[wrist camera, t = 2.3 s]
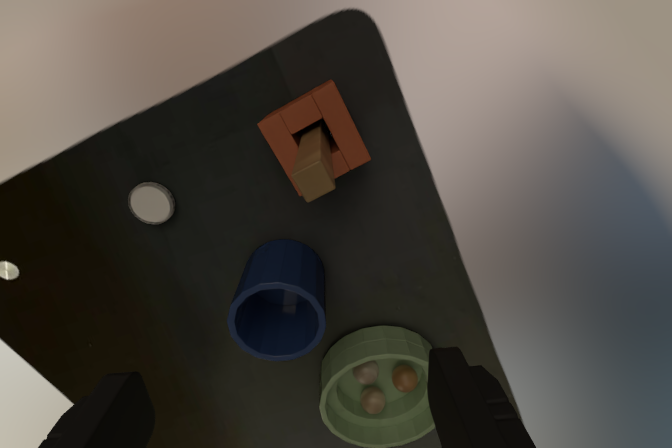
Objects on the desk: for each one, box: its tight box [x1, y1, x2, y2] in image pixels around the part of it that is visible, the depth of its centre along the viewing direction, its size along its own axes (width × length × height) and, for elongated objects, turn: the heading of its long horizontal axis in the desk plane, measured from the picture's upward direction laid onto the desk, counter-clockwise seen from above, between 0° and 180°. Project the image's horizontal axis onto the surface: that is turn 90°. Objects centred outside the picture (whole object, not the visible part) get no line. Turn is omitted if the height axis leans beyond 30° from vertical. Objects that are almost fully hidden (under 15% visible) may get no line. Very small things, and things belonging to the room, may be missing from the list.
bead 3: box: [392, 364, 418, 393], centre depth 41 cm, size 3×3×3 cm
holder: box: [257, 80, 371, 196], centre depth 29 cm, size 6×6×6 cm
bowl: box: [319, 325, 435, 448], centre depth 41 cm, size 14×14×5 cm
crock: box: [227, 239, 326, 361], centre depth 34 cm, size 8×8×8 cm
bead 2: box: [360, 386, 385, 414], centre depth 42 cm, size 3×3×3 cm
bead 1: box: [353, 360, 379, 385], centre depth 40 cm, size 3×3×3 cm
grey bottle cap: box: [128, 182, 175, 224], centre depth 33 cm, size 4×4×1 cm
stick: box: [291, 119, 336, 203], centre depth 24 cm, size 2×2×16 cm
